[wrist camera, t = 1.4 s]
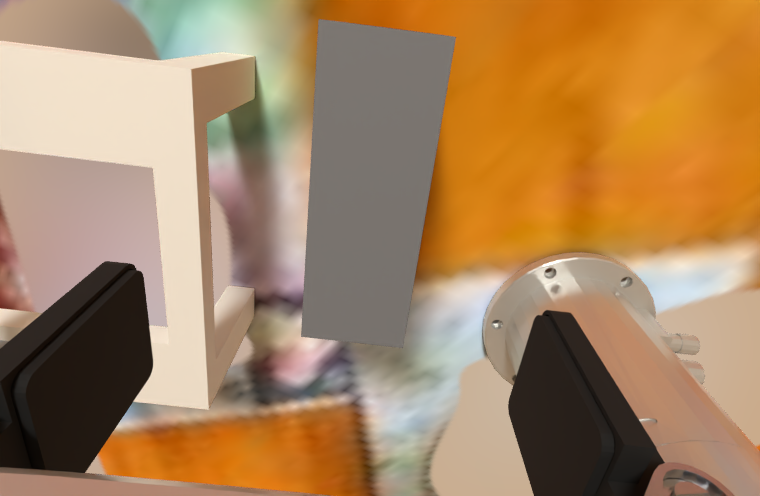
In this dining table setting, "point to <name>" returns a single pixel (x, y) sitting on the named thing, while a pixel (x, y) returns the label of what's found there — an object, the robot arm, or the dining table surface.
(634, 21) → the dining table surface
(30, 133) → the cream frame with rod
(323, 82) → the grey piece
